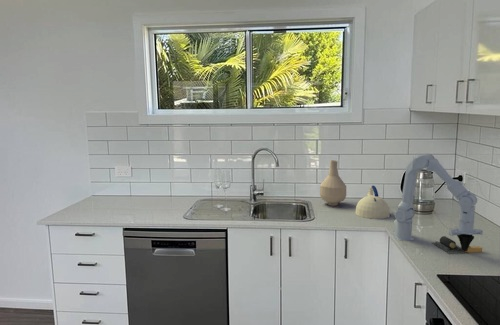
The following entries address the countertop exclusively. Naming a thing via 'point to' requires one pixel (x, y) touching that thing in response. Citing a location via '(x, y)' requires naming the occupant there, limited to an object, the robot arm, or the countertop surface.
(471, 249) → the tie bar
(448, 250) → the board
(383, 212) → the kettle
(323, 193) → the vase
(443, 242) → the dark grey cylinder
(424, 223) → the countertop surface
